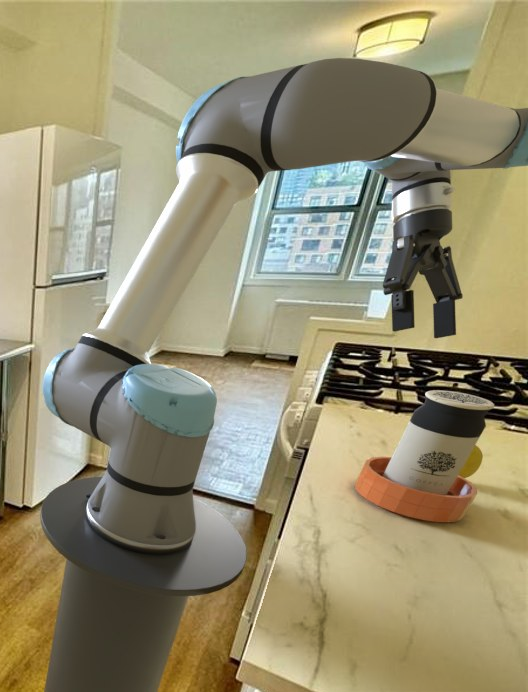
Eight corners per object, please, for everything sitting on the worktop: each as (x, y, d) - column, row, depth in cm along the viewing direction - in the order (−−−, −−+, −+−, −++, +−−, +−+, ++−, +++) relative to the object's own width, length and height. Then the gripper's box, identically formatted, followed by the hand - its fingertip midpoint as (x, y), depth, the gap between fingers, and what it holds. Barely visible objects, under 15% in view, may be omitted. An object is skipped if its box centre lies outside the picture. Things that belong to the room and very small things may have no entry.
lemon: (459, 476, 89) (481, 437, 85) (474, 490, 84) (499, 450, 81) (420, 470, 91) (441, 432, 87) (433, 484, 87) (456, 444, 83)
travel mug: (378, 481, 86) (425, 385, 78) (439, 499, 81) (496, 398, 73) (372, 498, 81) (422, 397, 73) (437, 517, 76) (498, 412, 68)
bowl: (348, 501, 81) (360, 475, 79) (358, 473, 90) (369, 449, 88) (462, 535, 73) (479, 508, 70) (461, 501, 81) (476, 475, 79)
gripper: (409, 192, 79) (413, 320, 79) (485, 219, 89) (489, 334, 88) (355, 214, 86) (358, 331, 86) (431, 237, 96) (434, 343, 95)
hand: (424, 333), depth 87 cm, fingers open, 13 cm apart
